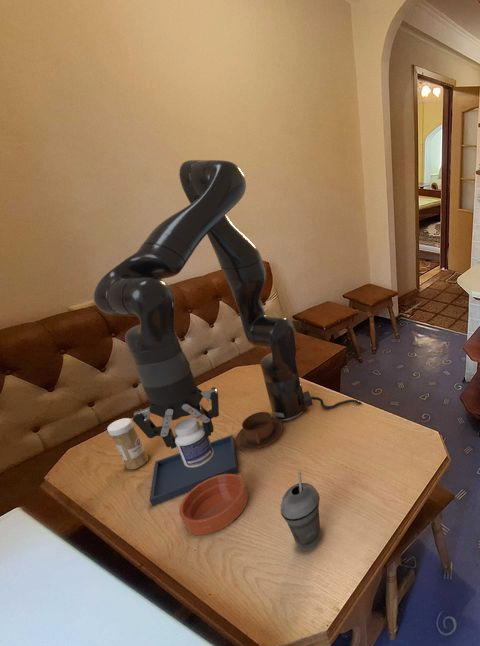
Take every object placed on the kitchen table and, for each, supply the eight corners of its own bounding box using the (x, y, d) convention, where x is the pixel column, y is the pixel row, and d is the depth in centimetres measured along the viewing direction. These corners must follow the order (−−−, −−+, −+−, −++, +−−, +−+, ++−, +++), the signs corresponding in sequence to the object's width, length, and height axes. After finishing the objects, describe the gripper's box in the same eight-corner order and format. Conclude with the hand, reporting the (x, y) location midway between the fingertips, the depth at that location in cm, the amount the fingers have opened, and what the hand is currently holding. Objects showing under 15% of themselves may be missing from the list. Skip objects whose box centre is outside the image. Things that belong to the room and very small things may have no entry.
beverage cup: (297, 524, 80) (281, 459, 72) (331, 522, 80) (318, 457, 72) (285, 559, 73) (265, 491, 65) (321, 556, 74) (306, 488, 66)
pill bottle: (220, 452, 79) (207, 418, 75) (196, 471, 75) (182, 436, 71) (202, 445, 81) (189, 412, 77) (178, 464, 76) (163, 429, 72)
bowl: (245, 478, 90) (241, 465, 89) (250, 516, 81) (246, 503, 79) (186, 502, 84) (180, 489, 82) (184, 547, 75) (177, 533, 73)
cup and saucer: (290, 437, 103) (287, 420, 101) (245, 460, 95) (239, 443, 93) (275, 416, 111) (271, 401, 108) (231, 437, 103) (226, 420, 101)
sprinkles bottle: (147, 465, 93) (129, 425, 88) (124, 473, 91) (104, 432, 86) (149, 453, 97) (132, 414, 92) (127, 460, 95) (108, 421, 89)
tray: (234, 440, 102) (232, 434, 101) (237, 472, 92) (235, 466, 91) (157, 467, 93) (155, 461, 92) (152, 506, 83) (149, 500, 82)
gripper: (112, 398, 62) (146, 467, 69) (211, 371, 70) (232, 436, 77) (119, 376, 68) (150, 442, 75) (210, 354, 75) (230, 416, 82)
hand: (192, 439), depth 76 cm, fingers closed on pill bottle, 5 cm apart
